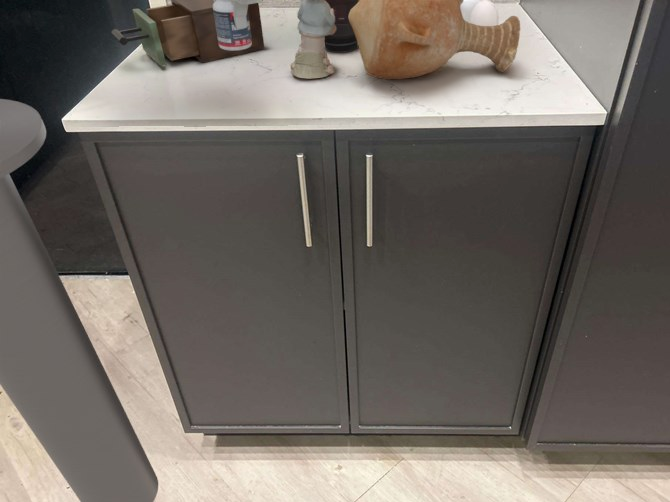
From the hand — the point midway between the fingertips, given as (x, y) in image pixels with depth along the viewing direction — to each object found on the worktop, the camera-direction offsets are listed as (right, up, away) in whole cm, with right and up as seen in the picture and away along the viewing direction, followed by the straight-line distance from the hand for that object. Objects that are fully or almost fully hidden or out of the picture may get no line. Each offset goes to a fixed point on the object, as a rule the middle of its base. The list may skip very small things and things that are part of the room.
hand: (232, 22), depth 89 cm
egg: (+45, +10, +31) cm, 56 cm away
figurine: (+11, -1, +18) cm, 22 cm away
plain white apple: (+43, +18, +40) cm, 62 cm away
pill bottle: (0, -3, +3) cm, 4 cm away
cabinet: (-9, +8, +30) cm, 33 cm away
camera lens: (+16, +7, +29) cm, 34 cm away
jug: (+33, -3, +16) cm, 37 cm away
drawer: (-19, +5, +25) cm, 32 cm away
